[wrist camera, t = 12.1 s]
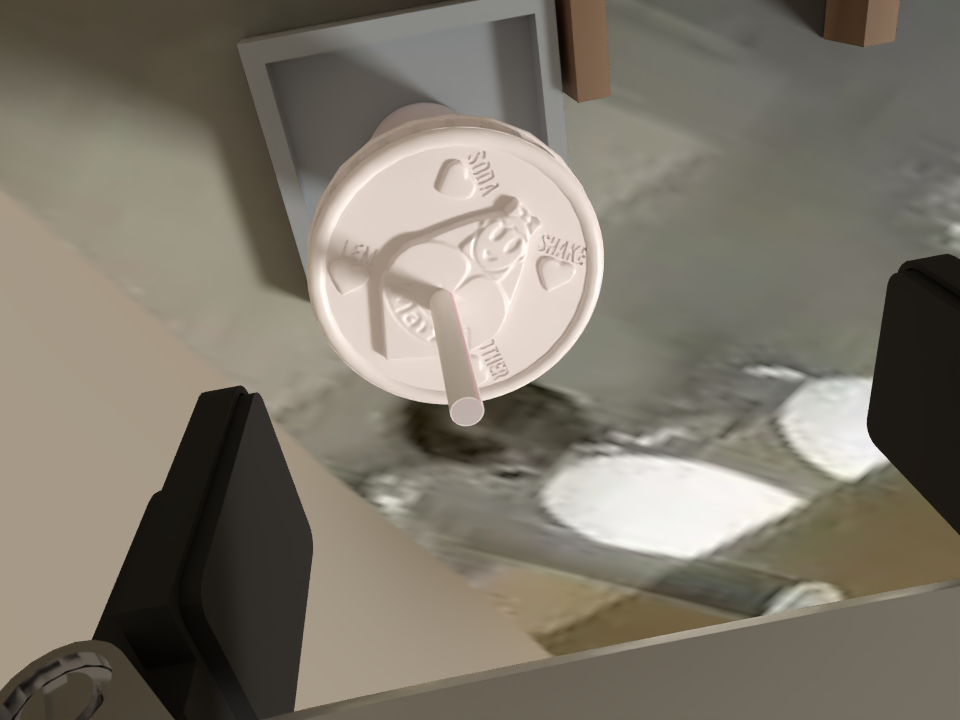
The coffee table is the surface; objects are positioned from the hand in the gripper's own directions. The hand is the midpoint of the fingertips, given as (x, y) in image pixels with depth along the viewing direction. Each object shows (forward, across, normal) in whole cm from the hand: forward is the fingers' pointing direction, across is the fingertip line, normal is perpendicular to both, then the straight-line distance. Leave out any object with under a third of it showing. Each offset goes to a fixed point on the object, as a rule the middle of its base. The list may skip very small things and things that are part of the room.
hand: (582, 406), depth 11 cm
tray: (+15, +2, 0) cm, 16 cm away
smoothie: (+15, +2, 0) cm, 15 cm away
